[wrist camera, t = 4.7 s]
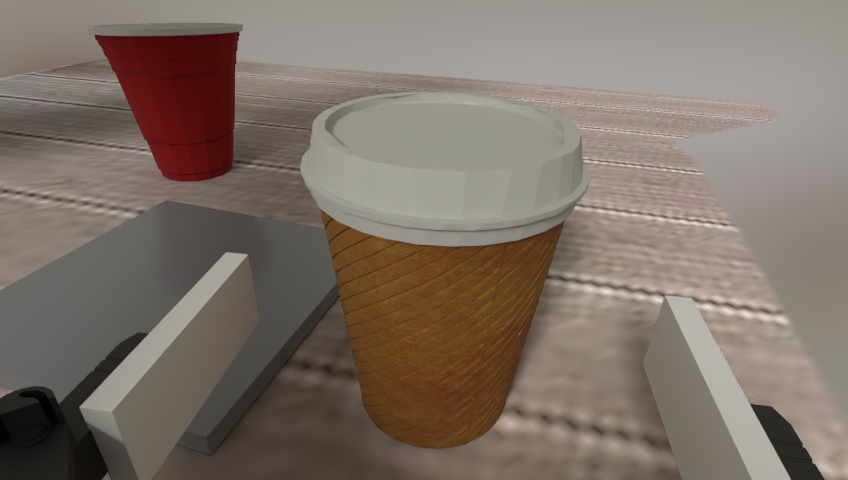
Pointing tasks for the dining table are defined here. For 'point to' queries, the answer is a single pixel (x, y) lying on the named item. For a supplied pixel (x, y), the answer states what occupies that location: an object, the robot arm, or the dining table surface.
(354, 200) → the disposable coffee cup
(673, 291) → the dining table surface
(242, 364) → the slate board
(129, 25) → the plastic cup
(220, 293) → the robot arm
